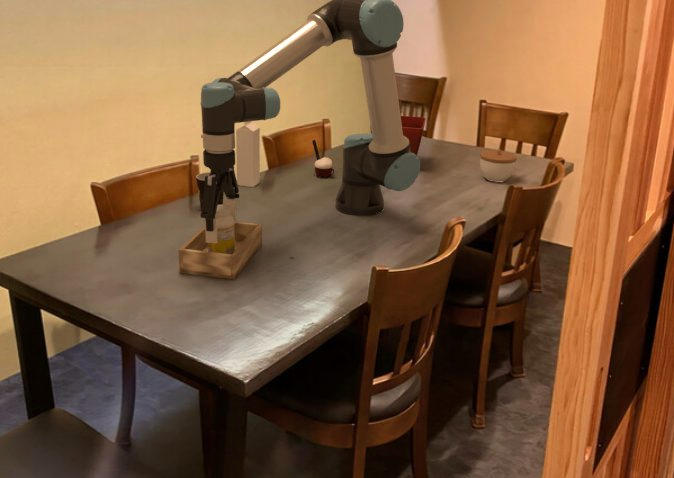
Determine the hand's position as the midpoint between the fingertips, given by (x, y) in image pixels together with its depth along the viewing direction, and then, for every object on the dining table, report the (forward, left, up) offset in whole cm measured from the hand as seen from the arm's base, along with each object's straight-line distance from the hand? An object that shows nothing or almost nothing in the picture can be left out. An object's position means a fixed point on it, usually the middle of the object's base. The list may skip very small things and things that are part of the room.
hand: (221, 232), depth 175 cm
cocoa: (-9, -79, -8) cm, 80 cm away
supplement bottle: (0, 0, -6) cm, 7 cm away
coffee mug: (+16, -37, -8) cm, 41 cm away
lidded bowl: (-69, -95, -8) cm, 117 cm away
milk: (+13, -62, -8) cm, 64 cm away
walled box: (0, -1, -7) cm, 7 cm away
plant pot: (-32, -102, -8) cm, 107 cm away
